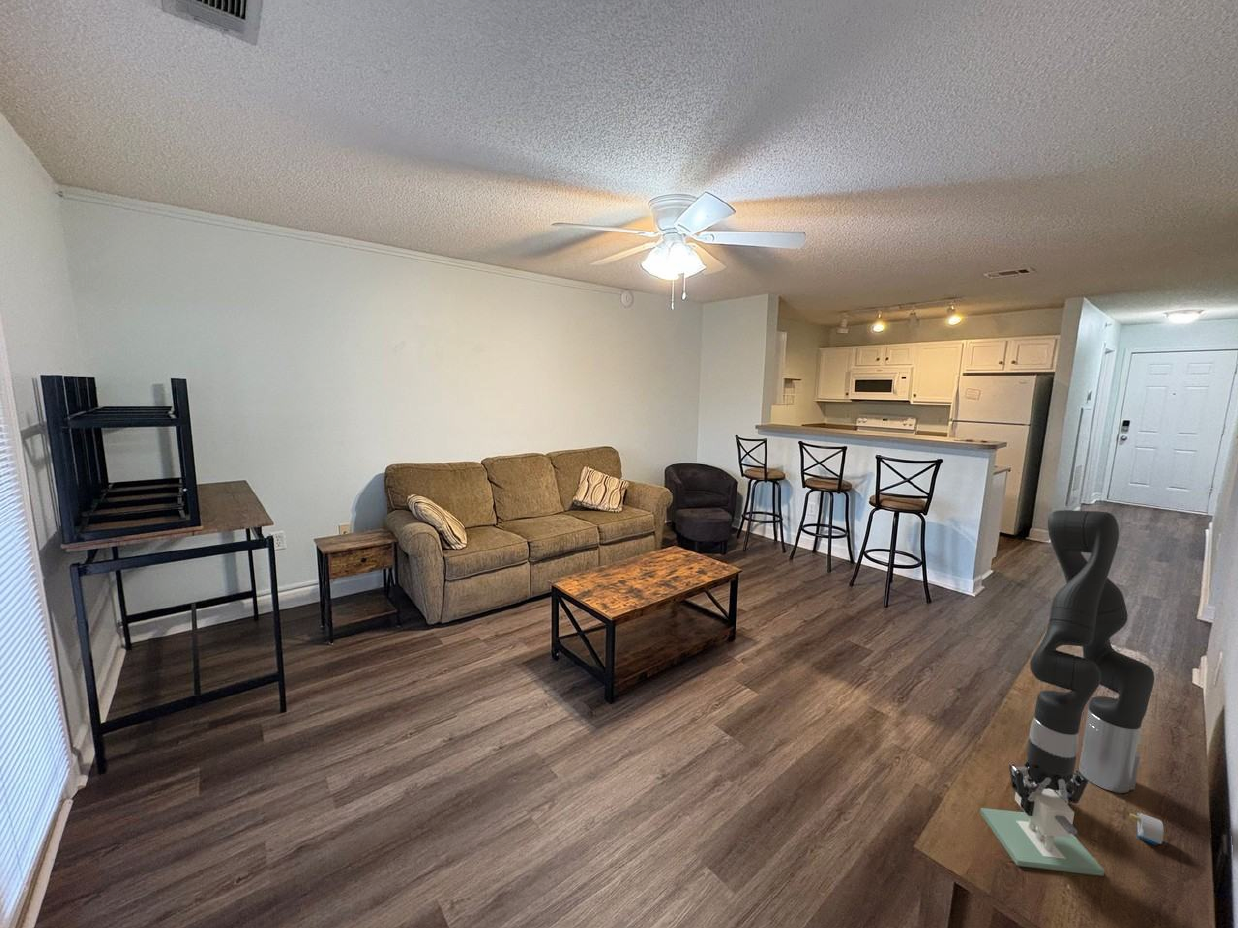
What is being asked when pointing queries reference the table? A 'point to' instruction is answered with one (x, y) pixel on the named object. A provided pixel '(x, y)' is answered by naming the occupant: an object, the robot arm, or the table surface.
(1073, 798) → the robot arm
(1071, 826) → the plug housing
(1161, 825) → the electric motor
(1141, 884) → the table surface
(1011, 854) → the board
